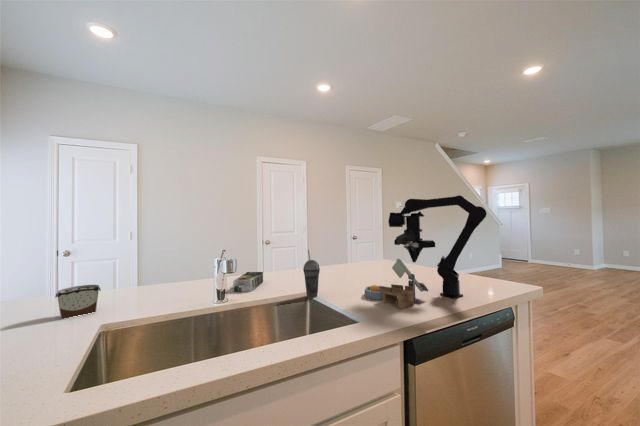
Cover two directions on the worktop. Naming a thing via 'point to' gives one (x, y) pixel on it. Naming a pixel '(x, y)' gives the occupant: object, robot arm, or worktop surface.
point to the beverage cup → (311, 277)
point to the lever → (401, 269)
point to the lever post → (412, 283)
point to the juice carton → (248, 282)
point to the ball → (374, 288)
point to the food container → (77, 300)
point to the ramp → (398, 295)
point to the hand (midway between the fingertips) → (414, 262)
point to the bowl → (373, 294)
